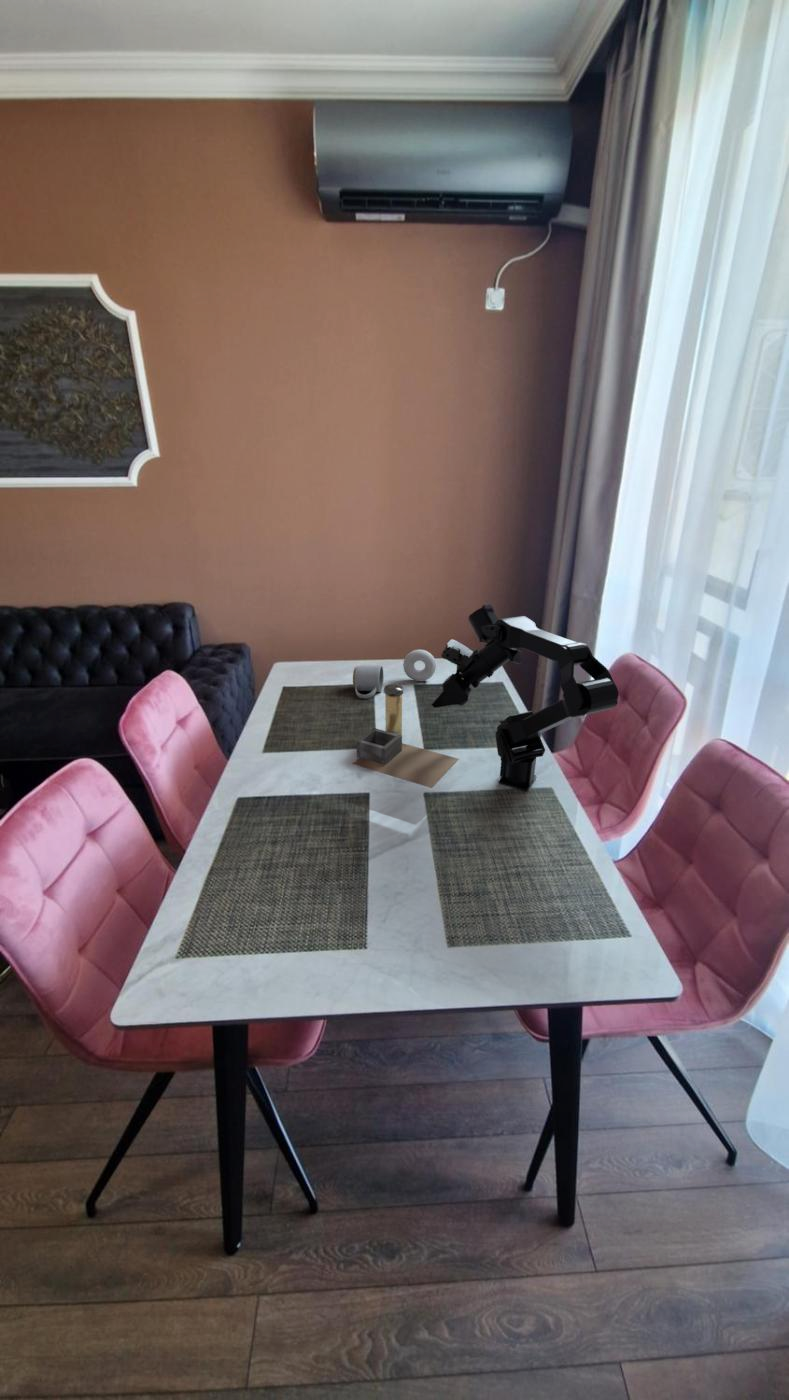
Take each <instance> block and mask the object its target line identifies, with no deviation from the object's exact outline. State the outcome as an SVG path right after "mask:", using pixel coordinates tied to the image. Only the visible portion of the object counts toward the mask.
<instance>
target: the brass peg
mask: <svg viewBox="0 0 789 1400" xmlns="http://www.w3.org/2000/svg"><path fill="white" fill-rule="evenodd" d="M383 693H384V695H385V696H384V697H385V702H384V703H385V714H384V715H385V716H384V717H385V731H387V732H391V733H395V734H398V735H402V736H403V694H404V686H403V685H402V684H398V683H388V684H386V685H385V686H383Z"/></svg>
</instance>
